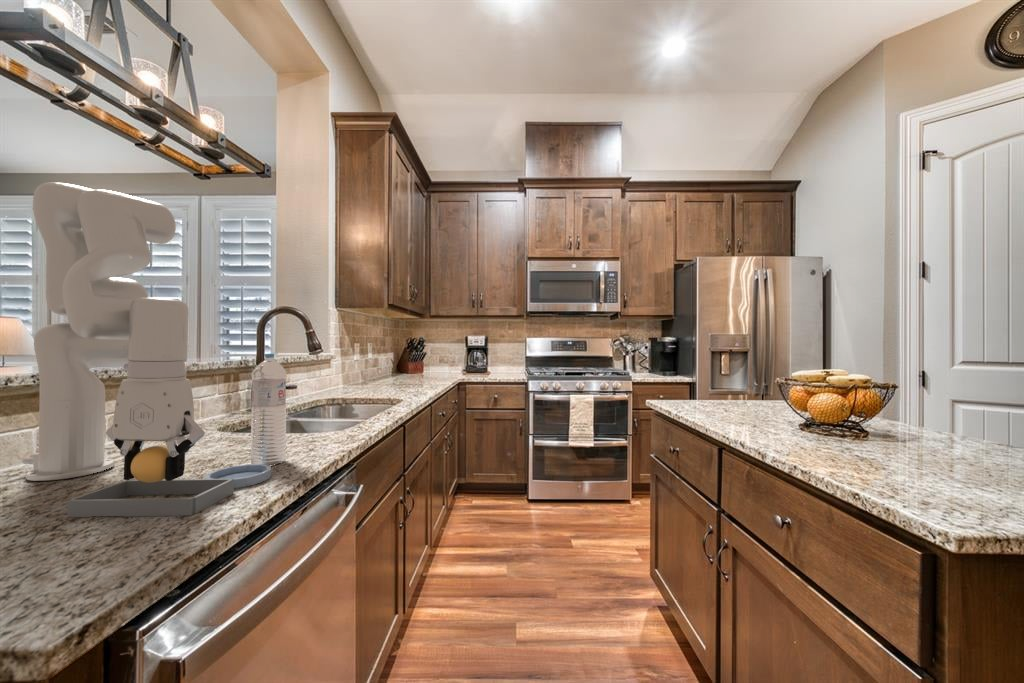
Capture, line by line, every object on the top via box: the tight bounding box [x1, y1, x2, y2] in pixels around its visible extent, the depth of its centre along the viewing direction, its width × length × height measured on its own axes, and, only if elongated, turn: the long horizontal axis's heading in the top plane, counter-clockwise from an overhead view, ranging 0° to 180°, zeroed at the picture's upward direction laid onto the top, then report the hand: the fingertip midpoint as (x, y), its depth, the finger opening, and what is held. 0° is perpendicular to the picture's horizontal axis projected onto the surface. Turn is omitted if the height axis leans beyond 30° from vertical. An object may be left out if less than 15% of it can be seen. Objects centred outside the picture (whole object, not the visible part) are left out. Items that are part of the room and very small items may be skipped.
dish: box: [204, 463, 272, 490], centre depth 80 cm, size 11×11×2 cm
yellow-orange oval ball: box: [131, 445, 170, 483], centre depth 68 cm, size 6×6×6 cm
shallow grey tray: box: [66, 478, 234, 518], centre depth 68 cm, size 19×10×2 cm, turn 92°
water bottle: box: [250, 353, 287, 466], centre depth 92 cm, size 7×7×25 cm
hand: (154, 476), depth 68 cm, fingers closed on yellow-orange oval ball, 5 cm apart
